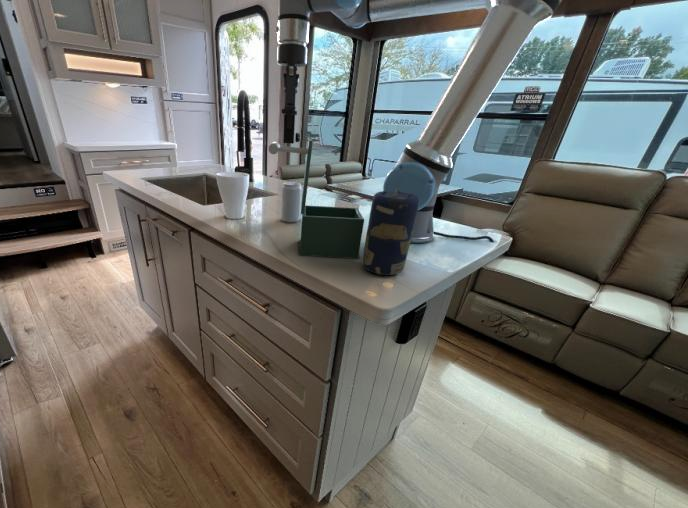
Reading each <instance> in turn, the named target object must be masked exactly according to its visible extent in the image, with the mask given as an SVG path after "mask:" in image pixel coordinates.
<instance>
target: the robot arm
mask: <svg viewBox="0 0 688 508" xmlns="http://www.w3.org/2000/svg"><path fill="white" fill-rule="evenodd" d="M277 2H278V3H277V7H278V8H277V11H278V13H277V26H275V28H274V31H275V33H277V43H278V44H279V45H278V46H277V47H276V63H277V64H278V65H279V66H282V67H285V72H284V73H283V79H282V80H283V91H284V93H285V94H284V95H285V96H284V107H283V108H281V115H282V114H283V140H282V142H283V144H295V125H296V116H298V111H297V110H296V94H297V93H298V91H299V90H298V87H299V83H300V74H299V73H297V71H298V68H302V67H306V66H307V64H308V47H307V45H308V44H309V35H310V34H309V33H310V17H311V13H323V12H331V13H332V14H333V15H334V16H336V17H337V18H338V19H339V20H340V21H341V22H343V24H345V26H346V27H349V28H352V29H361V28H362V27H364V26H365V25H366V24H369V23H373V22H381V21H382V22H383V21H391V20H399V19H405V18H406V19H408V18H414V17H422V16H430V15H431V16H432V15H438V14H439V15H440V14H447V13H454V12H462V11H463V12H464V11H470V10H479V9H486V11H487V13H488V14H487V15H486V17H485V19H484V20H483V22H482V24H481V26H480V27H479V29H478V31H477V33H476V35H475V36H474V37H473V40H472V41H471V43H470V45H469V47H468V48H467V51H466V52H465V54H464V55H463V58H462V60H461V61H460V63H459V64H458V66H457V68H456V70H455V71H454V73H453V75H452V77H451V79H450V81H449V83H448V84H447V85H446V87H445V89H444V91H443V92H442V94H441V97H440V98H439V100H438V101H437V104H436V105H435V107H434V109H433V111H432V112H431V114H430V116H429V118H428V120H427V121H426V123H425V125H424V127H423V128H422V130H421V132H420V134H419V135H418V137H417V139H416V140H414V141H411V142H409V143H407V144H406V146H405V148H404V149H403V150H402V153H401V155H400V156H399V158H398V160H397V162H396V163H395V165H394V167H392V168H391V169H390V171H388V173H387V174H386V177H385V178H384V181H383V185H382V191H396V190H397V189H399V190H400V192H405V193H409V194H413V195H415V196H417V197H418V198H419V207H418V211H417V216H416V220H415V224H414V228H413V233H412V237H411V243H410V244H424V243H428V242H432V240H433V237H434V236H438V237H443V238H449V239H459V240H466V241H479V240H488V241H489V242H491V243H494V242H495V241H494V239H493V238H492V237H491V236H489V235H481V236H472V237H471V236H464V235H454V234H447V233H443V232H438V231H434V218H433V217H434V215H433V212H434V208H435V204H436V201H437V197H438V193H439V190H440V187H441V184H442V183H443V181H444V180H445V178H446V177H447V175H448V174H449V173H450V171H451V169H452V168H453V161H452V156H453V154H454V152H455V151H456V150H457V148H458V146H459V144H460V143H461V141H462V140H463V139H464V137H465V135H466V134H467V132H468V130H469V129H470V127H471V126H472V125H473V123H474V121H475V120H476V118H477V117H478V115H479V113H480V112H481V111H482V109H483V108H484V106H485V105H486V103H487V101H488V100H489V98H490V97H491V95H492V93H493V92H494V90H495V89H496V87H497V86H498V84H499V83H500V82H501V80H502V78H503V76H504V75H505V73H506V71H508V69H509V67H510V65H511V64H512V63H513V61H514V59H515V58H516V56H517V55H518V53H519V51H520V50H521V49H522V47H523V45H524V44H525V43H526V41H527V39H528V38H529V36H530V35H531V33H532V32H533V30H534V28H535V27H536V26H538V24H541V23H543V22H545V21H547V20H549V19H550V18H552V16H553V15H554V13H555V12H556V10H557V9H558V8H559V6H560V4H561V3H562V2H563V0H277Z"/></svg>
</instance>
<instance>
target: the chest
mask: <svg viewBox="0 0 688 508" xmlns="http://www.w3.org/2000/svg"><path fill="white" fill-rule="evenodd" d="M364 225H365V218H364V217H363V215H362V213H361V212H360V210H359V208H358V207H342V206H325V205H324V206H323V205H307V204H305V212H304V214H301V227H300V243H299V244H300V245H299V256H307V257H308V256H309V257H324V258H325V257H326V258H328V257H329V258H344V259H359V254H360V249H361V243H362V238H363V237H362V236H363V231H364Z"/></svg>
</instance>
